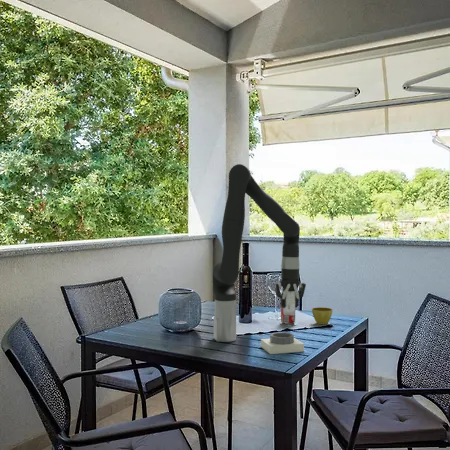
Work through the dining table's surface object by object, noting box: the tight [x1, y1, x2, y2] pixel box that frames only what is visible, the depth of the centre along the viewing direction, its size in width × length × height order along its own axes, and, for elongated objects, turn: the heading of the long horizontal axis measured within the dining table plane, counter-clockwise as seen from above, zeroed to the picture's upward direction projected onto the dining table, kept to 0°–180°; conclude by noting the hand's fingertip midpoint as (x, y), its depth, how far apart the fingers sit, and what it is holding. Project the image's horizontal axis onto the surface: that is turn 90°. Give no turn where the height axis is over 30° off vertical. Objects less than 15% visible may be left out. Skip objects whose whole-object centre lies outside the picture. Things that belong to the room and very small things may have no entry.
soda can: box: [280, 305, 296, 325], centre depth 234 cm, size 7×7×12 cm
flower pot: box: [311, 306, 333, 325], centre depth 233 cm, size 10×10×7 cm
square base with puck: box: [260, 331, 305, 355], centre depth 188 cm, size 14×11×6 cm
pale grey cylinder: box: [283, 290, 296, 316], centre depth 200 cm, size 5×5×10 cm
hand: (289, 307), depth 200 cm, fingers closed on pale grey cylinder, 5 cm apart
